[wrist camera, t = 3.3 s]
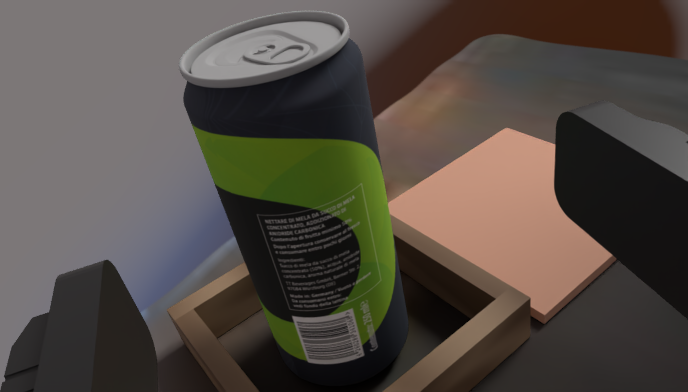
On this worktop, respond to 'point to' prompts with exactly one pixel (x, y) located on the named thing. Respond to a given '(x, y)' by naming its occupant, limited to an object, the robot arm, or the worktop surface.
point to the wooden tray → (421, 265)
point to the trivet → (507, 220)
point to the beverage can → (302, 188)
